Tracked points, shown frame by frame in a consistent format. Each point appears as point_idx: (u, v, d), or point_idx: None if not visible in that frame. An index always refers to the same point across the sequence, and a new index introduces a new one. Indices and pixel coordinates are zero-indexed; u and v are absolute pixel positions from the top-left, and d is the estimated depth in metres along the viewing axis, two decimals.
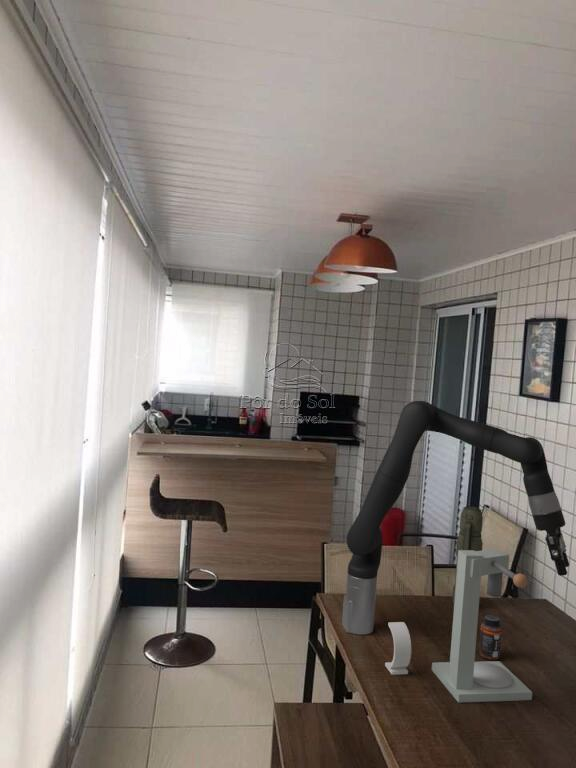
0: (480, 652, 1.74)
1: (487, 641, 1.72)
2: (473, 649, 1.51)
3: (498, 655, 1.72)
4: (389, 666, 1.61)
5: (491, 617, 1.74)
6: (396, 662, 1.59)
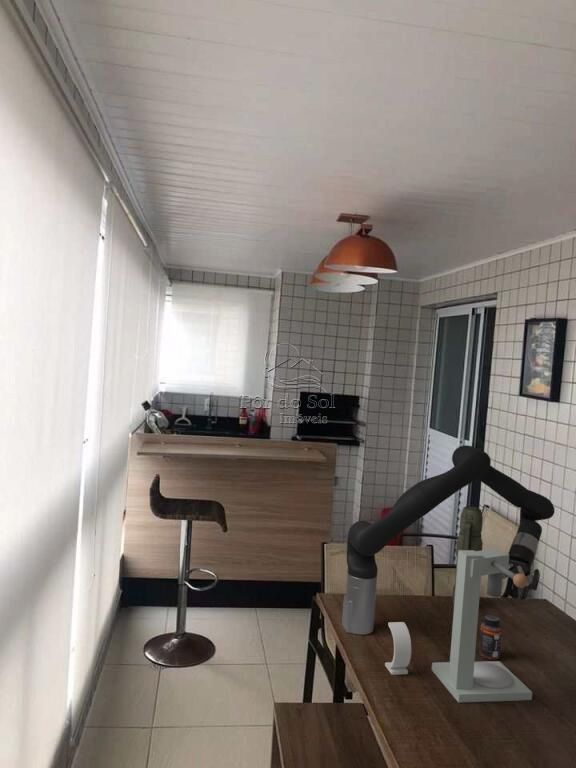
0: (480, 652, 1.74)
1: (487, 641, 1.72)
2: (473, 649, 1.51)
3: (498, 655, 1.72)
4: (389, 666, 1.61)
5: (491, 617, 1.74)
6: (396, 662, 1.59)
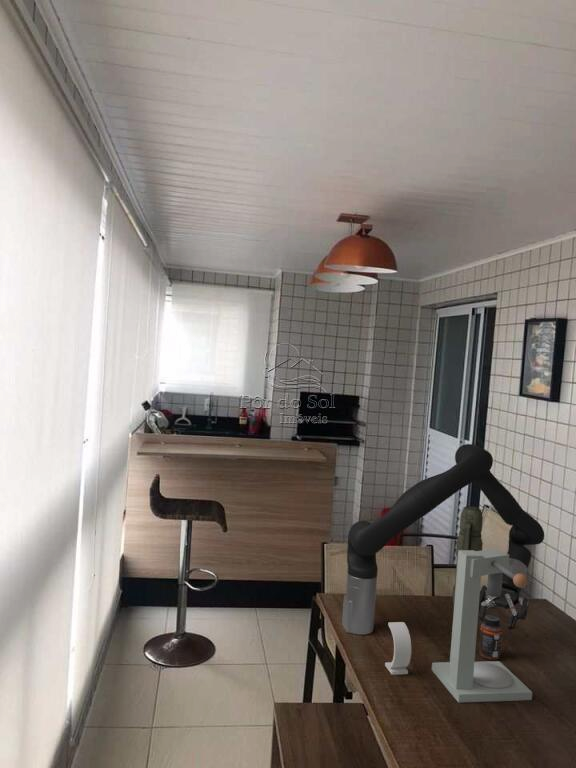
0: (480, 652, 1.74)
1: (487, 641, 1.72)
2: (473, 649, 1.51)
3: (498, 655, 1.72)
4: (389, 666, 1.61)
5: (491, 617, 1.74)
6: (396, 662, 1.59)
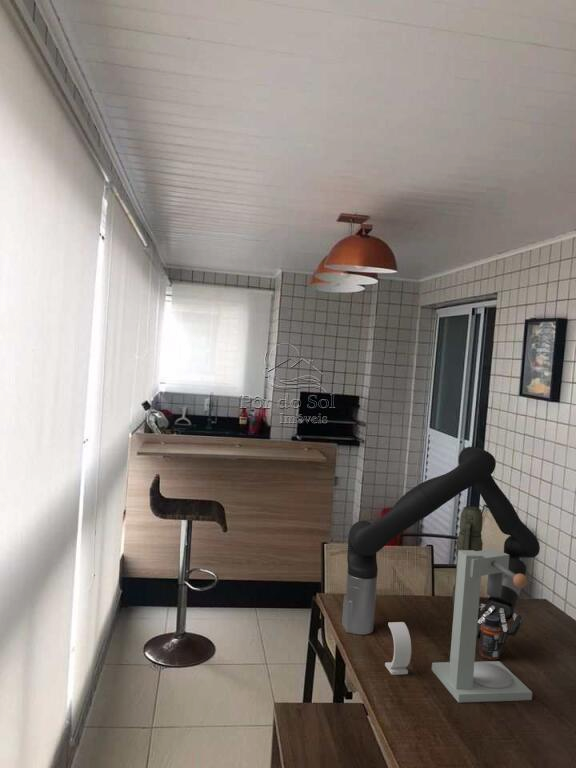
0: (480, 652, 1.74)
1: (487, 641, 1.72)
2: (473, 649, 1.51)
3: (498, 655, 1.72)
4: (389, 666, 1.61)
5: (491, 617, 1.74)
6: (396, 662, 1.59)
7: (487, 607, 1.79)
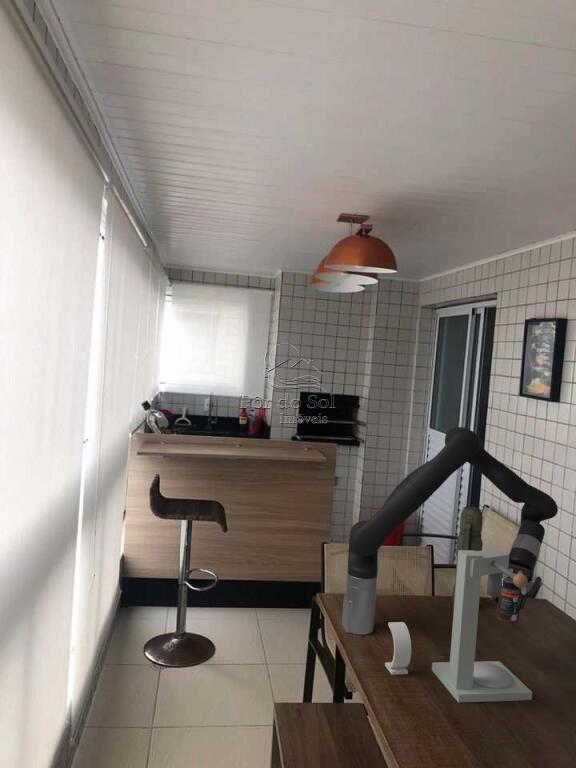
0: (498, 616, 1.67)
1: (505, 604, 1.65)
2: (473, 649, 1.51)
3: (517, 619, 1.65)
4: (389, 666, 1.61)
5: (510, 579, 1.67)
6: (396, 662, 1.59)
7: None
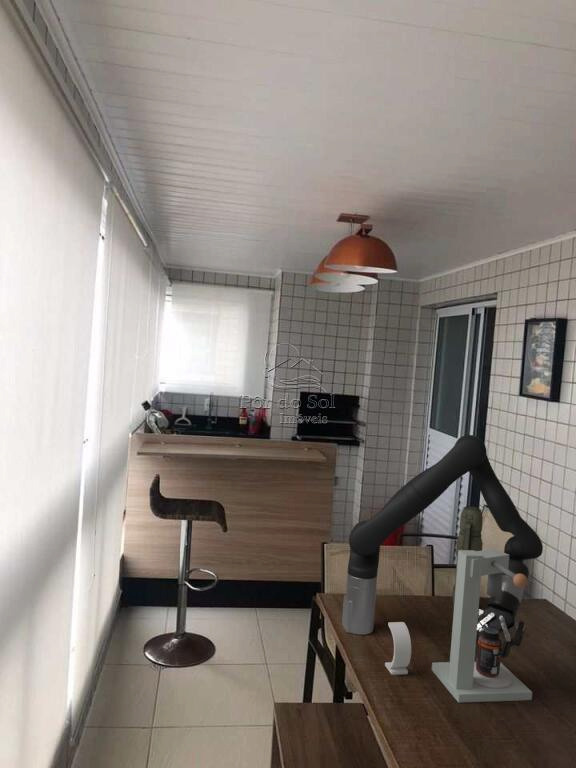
0: (477, 668, 1.57)
1: (485, 656, 1.56)
2: (473, 649, 1.51)
3: (497, 671, 1.56)
4: (389, 666, 1.61)
5: (490, 629, 1.58)
6: (396, 662, 1.59)
7: (486, 614, 1.63)
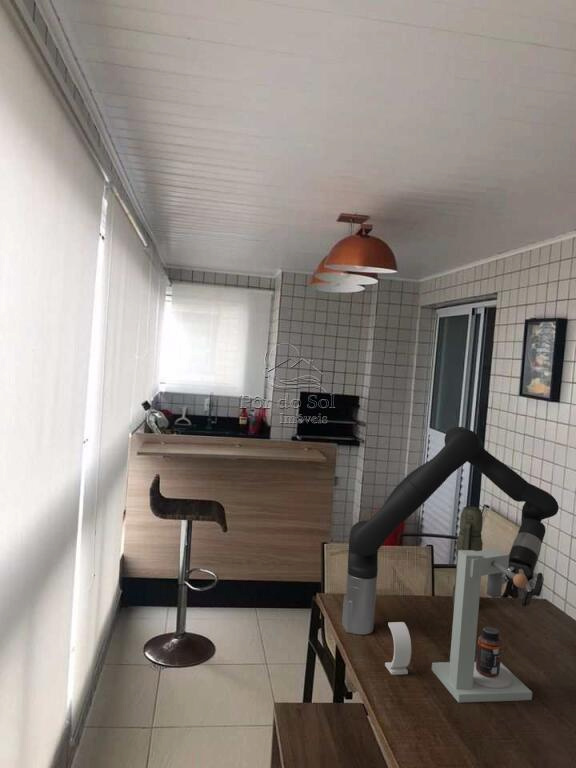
0: (477, 668, 1.57)
1: (485, 656, 1.56)
2: (473, 649, 1.51)
3: (497, 671, 1.56)
4: (389, 666, 1.61)
5: (490, 629, 1.58)
6: (396, 662, 1.59)
7: None
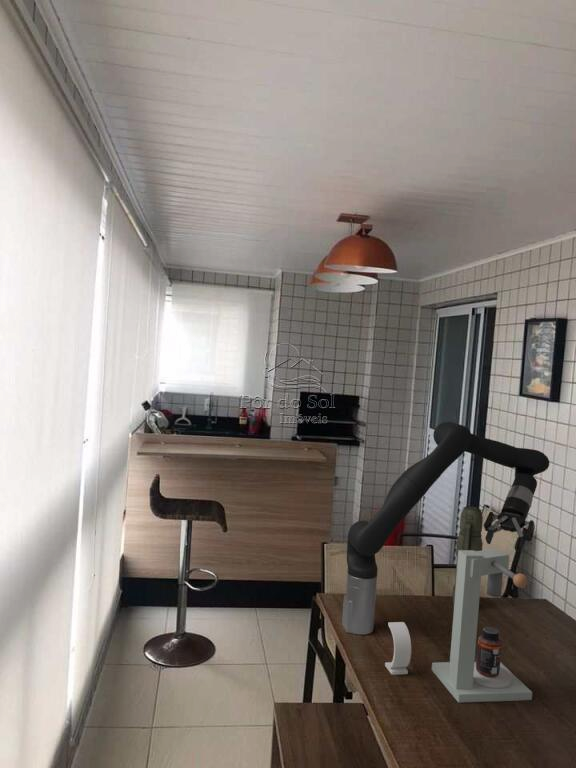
0: (477, 668, 1.57)
1: (485, 656, 1.56)
2: (473, 649, 1.51)
3: (497, 671, 1.56)
4: (389, 666, 1.61)
5: (490, 629, 1.58)
6: (396, 662, 1.59)
7: (500, 518, 1.86)
